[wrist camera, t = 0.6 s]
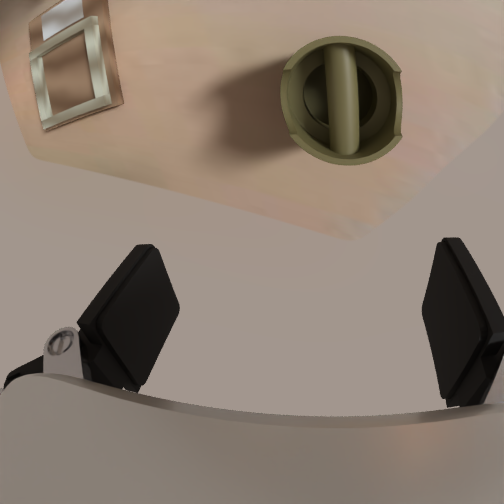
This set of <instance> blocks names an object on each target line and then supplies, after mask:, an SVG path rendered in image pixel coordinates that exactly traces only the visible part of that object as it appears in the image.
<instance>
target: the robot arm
mask: <svg viewBox="0 0 504 504" xmlns="http://www.w3.org/2000/svg"><path fill="white" fill-rule="evenodd" d="M179 309H180V307H179V303H178V300H177V297H176V295H175V292H174V290H173V287H172V284H171V282H170V279H169V276H168V274H167V271H166V268H165V266H164V263H163V260H162V257H161V255H160V252H159V250H158V249H157V248H155V247H154V246H153V245H152V244H144V245H143V244H142V245H136V246H135V247H134V249H133V250H132V251H131V252H130V253H129V255H128V256H127V257H126V258H125V260H124V261H123V262H122V263H121V264H120V266H119V267H118V268H117V269H116V271H115V272H114V274H113V275H112V276H111V277H110V278H109V280H108V281H107V282H106V283H105V285H104V286H103V287H102V289H101V290H100V291H99V293H98V294H97V295H96V297H95V298H94V300H92V302H91V303H90V305H89V306H88V307H87V309H86V310H85V311H84V313H83V314H82V315H81V317H80V318H79V320H78V321H77V324H78V325H79V327H80V331H79V332H78V331H77V330H76V329H75V328H72V327H65V328H61V329H59V330H57V331H55V332H54V333H53V334H52V335H51V336H50V337H49V338H48V340H47V341H46V343H45V346H44V355H42V356H40V357H39V358H36V359H35V360H33V361H30V362H28V363H27V364H24V365H22V366H21V367H18V368H17V369H15V370H13V371H11V372H10V373H9V374H8V376H7V378H6V381H5V383H4V390H3V389H2V388H1V389H0V504H504V316H503V314H502V312H501V310H500V308H499V306H498V303H497V301H496V299H495V298H494V296H493V294H492V292H491V290H490V288H489V286H488V285H487V282H486V281H485V279H484V277H483V275H482V274H481V272H480V270H479V268H478V266H477V265H476V263H475V261H474V259H473V258H472V256H471V254H470V253H469V251H468V250H467V248H466V247H465V245H464V243H463V242H462V240H461V239H460V238H443V239H442V241H441V242H439V243H437V246H436V251H435V255H434V260H433V265H432V269H431V273H430V278H429V282H428V286H427V290H426V293H425V297H424V301H423V305H422V316H423V320H424V323H425V327H426V331H427V335H428V339H429V342H430V347H431V351H432V355H433V360H434V364H435V369H436V374H437V379H438V384H439V389H440V395H441V397H442V399H446V405H447V408H448V407H454V406H460V407H458V408H452V409H444V410H436V411H427V412H418V413H407V414H406V413H405V414H393V415H378V416H349V417H323V416H320V417H319V416H292V415H276V414H263V413H252V412H243V411H234V410H226V409H219V408H212V407H205V406H199V405H193V404H187V403H181V402H176V401H170V400H166V399H160V398H156V397H151V396H147V395H142V394H138V391H139V389H140V387H141V385H144V384H145V383H146V381H147V379H148V377H149V375H150V372H151V370H152V368H153V366H154V364H155V362H156V360H157V358H158V355H159V353H160V351H161V349H162V347H163V345H164V343H165V341H166V339H167V337H168V335H169V333H170V331H171V328H172V326H173V324H174V322H175V320H176V318H177V316H178V314H179ZM123 387H124V388H125V389H126V390H128V391H126V390H122V388H123ZM130 391H132V392H130ZM134 392H136V393H134Z"/></svg>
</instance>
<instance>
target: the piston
mask: <svg viewBox="0 0 504 504" xmlns="http://www.w3.org/2000/svg"><path fill="white" fill-rule="evenodd" d="M401 72H402V71H401V69H400V68H399V66H398V65H397V64H396V62H395V61H394V60H393V59H392V58H391V57H390V56H389V55H388V54H387V53H385V52H384V51H383V50H381V49H380V48H378V47H377V46H375V45H373V44H371V43H369V42H367V41H364V40H361V39H358V38H354V37H347V36H332V37H326V38H322V39H318V40H316V41H313V42H311V43H309V44H307V45H305V46H304V47H302V48H301V49H300V50H298V51H297V52H296V53H295V54H294V55H293V56H292V57H291V58H290V60H289V61H288V62H287V64H286V65H285V67H284V69H283V75H282V79H281V86H280V99H281V106H282V111H283V115H284V118H285V121H286V124H287V127H288V130H289V135H290V136H291V138H292V139H293V140H294V141H295V142H296V143H297V144H298V145H299V146H300V147H301V148H302V149H303V150H305V151H306V152H307V153H309V154H311V155H312V156H314V157H316V158H318V159H320V160H323V161H325V162H328V163H332V164H337V165H360V164H365V163H369V162H372V161H374V160H376V159H379V158H380V157H382V156H384V155H385V154H387V153H388V152H389V151H391V150H392V149H393V148H394V147H395V146H396V145H397V144H398V142H399V141H400V140H401V138H402V137H403V136H402V134H401V119H402V88H401V80H400V73H401Z"/></svg>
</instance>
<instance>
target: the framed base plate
mask: <svg viewBox="0 0 504 504" xmlns="http://www.w3.org/2000/svg"><path fill="white" fill-rule="evenodd" d="M29 32H30V42H31V51H32V52H30V53H29V57H30V64H31V71H32V77H33V83H34V89H35V94H36V99H37V104H38V108H39V113H40V117H41V122H42V126H43V130H44V129H46V130H47V131H49V130H51V129H53V128H56V127H58V126H61V125H63V124H66V123H68V122H71V121H73V120H76V119H79V118H82V117H84V116H87V115H90V114H93V113H96V112H99V111H102V110H105V109H108V108H111V107H114V106H117V105H121V104H124V101H123V96H122V91H121V86H120V80H119V75H118V69H117V64H116V58H115V52H114V45H113V39H112V32H111V24H110V17H109V8H108V0H61V1H59V2H58V3H56V4H55V5H53V6H52V7H50V8H49V9H47V10H46V11H45V12H43V13H42V14H40V15H39V16H38V17H36V18H35V19H33V20H32V21H31V22H29Z"/></svg>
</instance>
